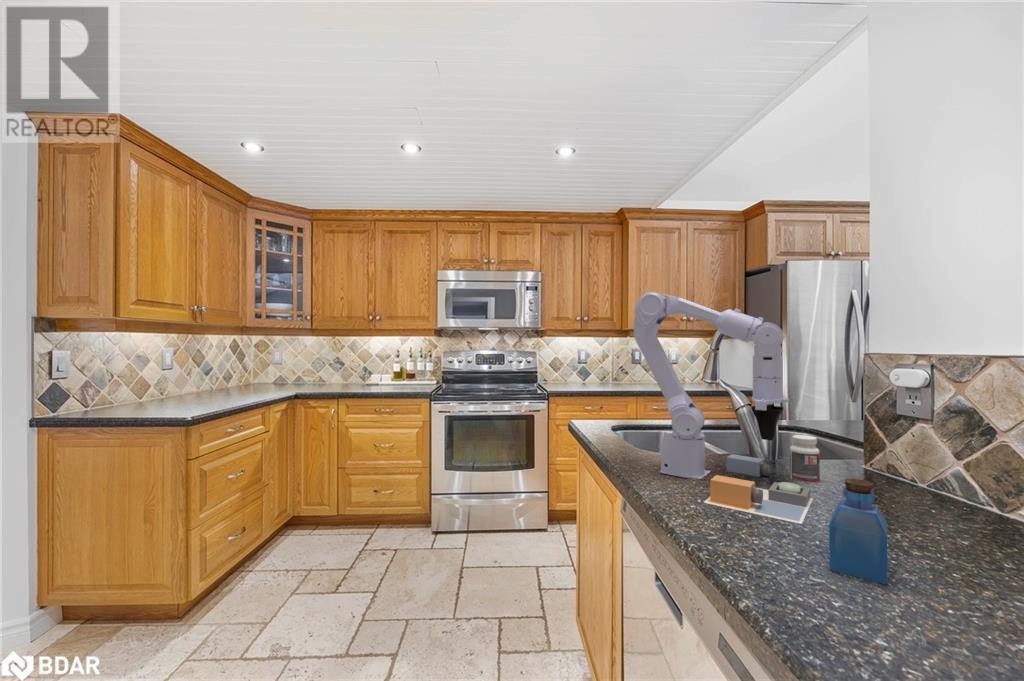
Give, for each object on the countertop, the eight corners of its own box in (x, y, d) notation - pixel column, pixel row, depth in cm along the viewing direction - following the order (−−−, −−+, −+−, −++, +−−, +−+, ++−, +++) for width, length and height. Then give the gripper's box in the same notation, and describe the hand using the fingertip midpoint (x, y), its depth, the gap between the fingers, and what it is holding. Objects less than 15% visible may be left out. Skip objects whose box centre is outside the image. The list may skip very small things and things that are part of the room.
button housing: (768, 500, 88) (768, 489, 88) (774, 491, 93) (774, 481, 93) (806, 507, 84) (806, 496, 84) (810, 498, 89) (810, 488, 89)
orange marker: (710, 500, 88) (710, 479, 88) (716, 494, 91) (716, 475, 91) (759, 510, 83) (759, 488, 83) (763, 504, 86) (763, 483, 86)
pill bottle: (825, 485, 99) (826, 439, 99) (799, 485, 99) (799, 439, 99) (809, 477, 105) (809, 434, 105) (784, 477, 105) (784, 434, 105)
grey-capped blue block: (726, 474, 108) (726, 457, 108) (731, 470, 111) (731, 454, 111) (766, 481, 102) (766, 463, 102) (770, 477, 105) (770, 460, 105)
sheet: (703, 505, 87) (703, 502, 87) (725, 484, 99) (725, 482, 99) (801, 527, 77) (801, 523, 77) (813, 501, 89) (813, 498, 89)
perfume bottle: (833, 553, 68) (833, 472, 68) (887, 566, 64) (887, 481, 64) (829, 569, 63) (829, 483, 63) (887, 584, 59) (887, 492, 59)
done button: (777, 495, 89) (777, 485, 89) (780, 490, 91) (780, 480, 91) (799, 499, 86) (799, 489, 86) (801, 494, 89) (801, 484, 89)
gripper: (782, 380, 91) (782, 448, 92) (793, 376, 103) (793, 436, 103) (744, 378, 96) (744, 443, 96) (758, 374, 107) (758, 432, 107)
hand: (767, 439), depth 100 cm, fingers closed
